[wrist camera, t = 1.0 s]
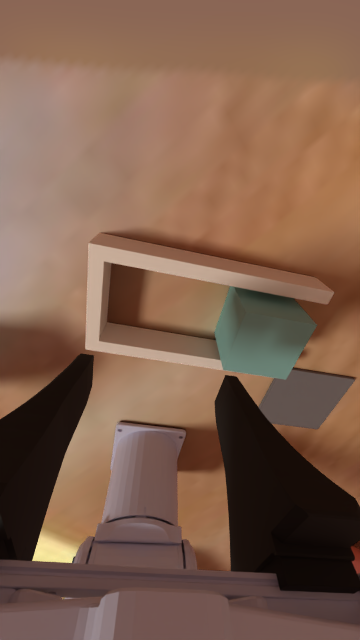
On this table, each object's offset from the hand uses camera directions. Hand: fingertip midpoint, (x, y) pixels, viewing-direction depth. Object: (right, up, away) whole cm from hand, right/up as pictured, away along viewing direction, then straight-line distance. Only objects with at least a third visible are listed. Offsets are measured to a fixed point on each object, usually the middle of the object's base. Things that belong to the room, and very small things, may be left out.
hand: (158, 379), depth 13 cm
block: (+7, +4, +9) cm, 12 cm away
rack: (+3, +4, +8) cm, 10 cm away
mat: (+14, -6, +15) cm, 21 cm away
